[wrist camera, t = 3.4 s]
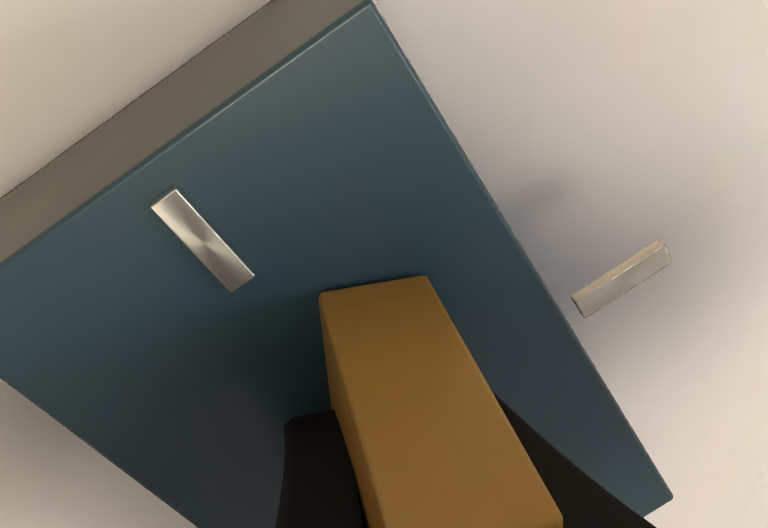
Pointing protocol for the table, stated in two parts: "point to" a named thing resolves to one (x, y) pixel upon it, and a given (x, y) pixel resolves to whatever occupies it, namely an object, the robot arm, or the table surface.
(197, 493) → the plate
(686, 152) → the table surface
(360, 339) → the tap handle
